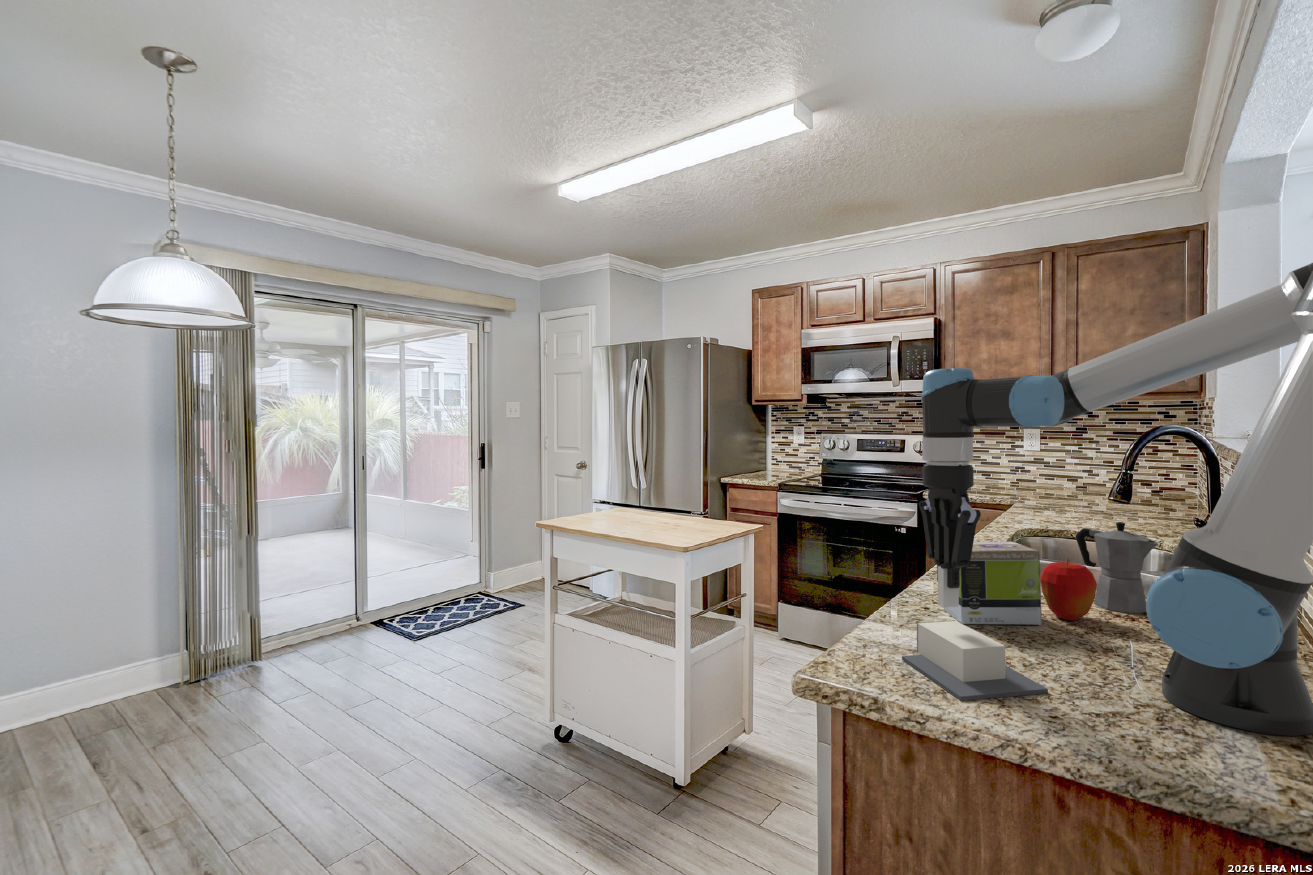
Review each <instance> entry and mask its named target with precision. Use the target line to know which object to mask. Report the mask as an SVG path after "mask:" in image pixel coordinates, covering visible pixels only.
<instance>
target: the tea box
mask: <svg viewBox="0 0 1313 875" xmlns="http://www.w3.org/2000/svg"><path fill="white" fill-rule="evenodd" d="M1040 556H1041V555H1040V550H1037V549H1035V548H1031V547H1029V546H1026V545H1023V544H1020V543H1018V542H1016V541H974V542H973V548H972V554H971V560H970V565H969V566H965V567H961V568H960V586H959V607H945V608H943V609H944V611H945V612H947V613H948V615H950V616H951V617H952V618H954V620H955V621H957V622H959V623H961V624H963V625H1027V626H1028V625H1030V626H1032V625H1033V626H1035V625H1037V626H1039V625H1042V623H1043V622H1042V593H1041V592H1042V588H1041V581H1040V576H1041V557H1040Z"/></svg>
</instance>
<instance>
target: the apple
mask: <svg viewBox="0 0 1313 875" xmlns="http://www.w3.org/2000/svg"><path fill="white" fill-rule="evenodd" d="M1040 581H1041V592H1042V593H1041V594H1042V595H1043V597H1044V599H1045V602H1046V604H1047V607H1048V609H1049V610H1050V611H1051V612H1052V613H1053V614H1054V615H1055V616H1056V617H1058V618H1060V619H1062V620H1067V621H1077V620H1080V619H1081V618H1083V617H1084V616H1086V615H1088V614H1089V612H1090V610H1091V608H1092V606H1093V603H1094V601H1095V596H1096V591H1097V587H1098V583H1097V581H1096V579H1095V576H1094V574H1093V572H1092V571H1091V570H1089V568H1088V567H1087V566H1085V565H1082V564H1080V563H1079V564H1078V563H1073V562H1069V559H1067V561H1053V562H1050V563H1049V564H1047V565H1046V566H1045V567H1044V568H1043V569H1042V571H1041V572H1040Z"/></svg>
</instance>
